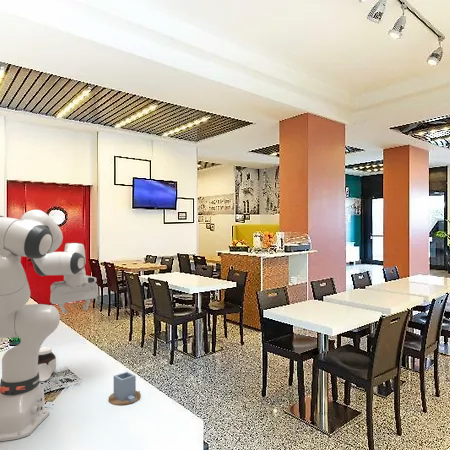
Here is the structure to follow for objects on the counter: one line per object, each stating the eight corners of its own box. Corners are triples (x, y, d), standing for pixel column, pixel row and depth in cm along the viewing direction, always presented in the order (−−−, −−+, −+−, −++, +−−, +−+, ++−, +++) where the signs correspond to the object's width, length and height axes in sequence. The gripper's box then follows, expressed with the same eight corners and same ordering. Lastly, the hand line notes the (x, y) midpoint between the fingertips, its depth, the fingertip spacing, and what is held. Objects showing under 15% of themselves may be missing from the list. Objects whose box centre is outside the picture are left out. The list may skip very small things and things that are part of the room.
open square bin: (113, 396, 148) (113, 375, 148) (127, 391, 152) (127, 371, 152) (125, 404, 141) (125, 382, 141) (140, 398, 145) (139, 377, 145)
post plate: (102, 398, 148) (102, 381, 148) (130, 388, 156) (130, 372, 156) (118, 408, 139) (118, 390, 139) (146, 397, 148) (146, 380, 148)
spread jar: (48, 370, 177) (48, 344, 177) (64, 374, 171) (63, 348, 171) (23, 379, 166) (23, 352, 166) (39, 384, 161) (38, 356, 160)
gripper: (53, 283, 157) (53, 316, 157) (99, 278, 172) (100, 308, 172) (47, 281, 162) (47, 314, 162) (93, 276, 176) (93, 306, 176)
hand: (75, 311), depth 167 cm, fingers open, 8 cm apart
